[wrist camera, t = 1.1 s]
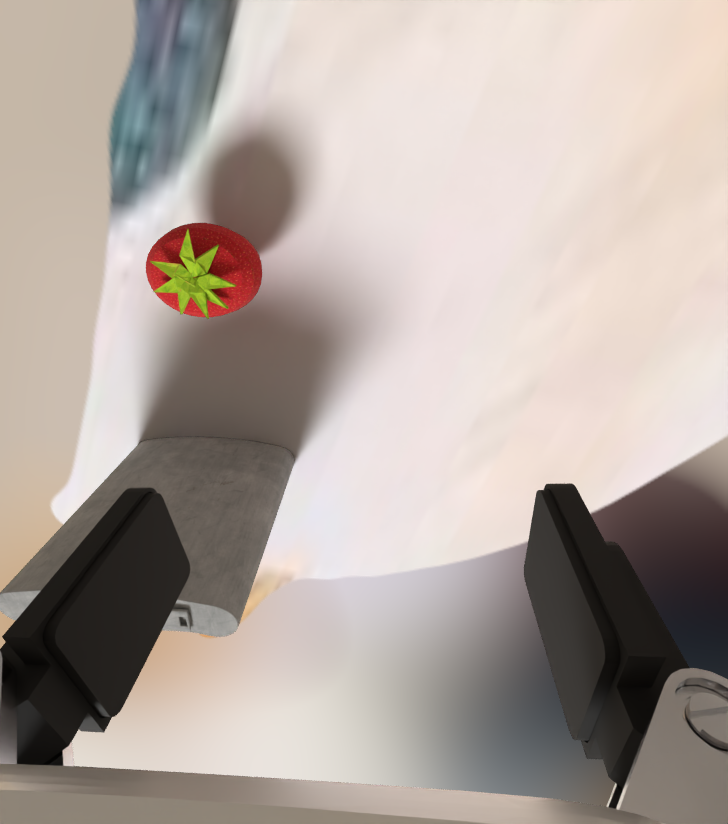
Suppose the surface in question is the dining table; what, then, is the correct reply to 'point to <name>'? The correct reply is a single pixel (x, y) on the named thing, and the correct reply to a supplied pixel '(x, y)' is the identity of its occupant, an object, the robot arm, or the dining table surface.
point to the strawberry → (204, 270)
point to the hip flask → (185, 523)
